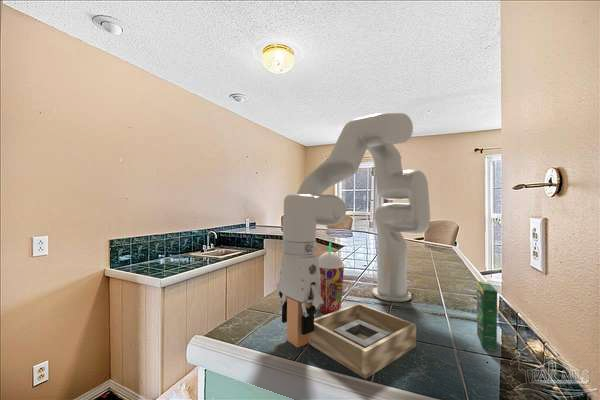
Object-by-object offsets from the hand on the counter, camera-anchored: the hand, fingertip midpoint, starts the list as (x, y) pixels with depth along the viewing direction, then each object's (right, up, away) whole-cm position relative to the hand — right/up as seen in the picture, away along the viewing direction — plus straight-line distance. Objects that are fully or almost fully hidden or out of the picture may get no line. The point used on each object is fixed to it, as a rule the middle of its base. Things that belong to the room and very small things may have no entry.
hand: (297, 326), depth 63 cm
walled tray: (+14, -4, -1) cm, 15 cm away
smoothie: (+9, -4, +18) cm, 21 cm away
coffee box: (+44, -4, +1) cm, 44 cm away
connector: (0, -4, +1) cm, 4 cm away
